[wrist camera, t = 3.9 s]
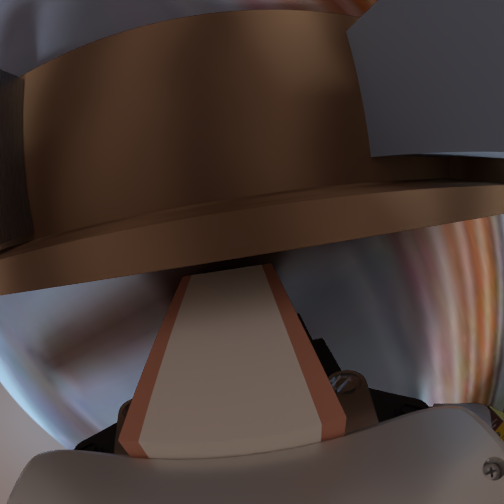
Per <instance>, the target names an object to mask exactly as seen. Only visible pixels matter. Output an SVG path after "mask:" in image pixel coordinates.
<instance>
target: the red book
mask: <svg viewBox="0 0 504 504" xmlns="http://www.w3.org/2000/svg"><path fill="white" fill-rule="evenodd" d="M346 418H347V417H346V415H345V413H344V411H343V409H342V406H341V404H340V402H339V400H338V398H337V396H336V394H335V392H334V390H333V388H332V386H331V383H330V381H329V379H328V377H327V375H326V373H325V371H324V369H323V367H322V365H321V363H320V361H319V359H318V357H317V355H316V352H315V350H314V348H313V346H312V344H311V342H310V340H309V338H308V336H307V334H306V332H305V330H304V328H303V326H302V324H301V322H300V320H299V318H298V316H297V314H296V312H295V310H294V308H293V306H292V304H291V302H290V300H289V298H288V295H287V293H286V291H285V289H284V287H283V285H282V283H281V281H280V279H279V277H278V275H277V273H276V271H275V269H274V267H273V265H272V263H269V264H262V265H256V266H249V267H243V268H236V269H229V270H223V271H216V272H210V273H203V274H196V275H189V276H183V277H182V279H181V281H180V283H179V285H178V288H177V290H176V292H175V295H174V297H173V299H172V301H171V304H170V306H169V308H168V311H167V313H166V315H165V318H164V320H163V323H162V325H161V327H160V330H159V332H158V335H157V337H156V339H155V342H154V344H153V347H152V349H151V352H150V354H149V357H148V359H147V362H146V364H145V367H144V370H143V372H142V375H141V377H140V380H139V383H138V385H137V388H136V391H135V393H134V396H133V399H132V402H131V404H130V407H129V410H128V413H127V415H126V418H125V421H124V424H123V427H122V430H121V433H120V436H119V439H118V441H119V442H120V444H121V445H122V446H123V448H124V449H125V450H126V452H127V453H128V454H129V456H130V457H142V458H151V459H205V458H222V457H234V456H244V455H252V454H260V453H267V452H273V451H279V450H285V449H290V448H295V447H300V446H305V445H310V444H314V443H319V442H321V441H324V440H328V439H332V438H336V437H339V436H343V435H344V433H345V426H346Z"/></svg>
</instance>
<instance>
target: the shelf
mask: <svg viewBox="0 0 504 504" xmlns="http://www.w3.org/2000/svg"><path fill="white" fill-rule="evenodd" d="M359 18H360V17H355V16H349V15H342V14H335V13H326V12H316V11H302V10H242V11H228V12H218V13H209V14H201V15H194V16H188V17H182V18H177V19H172V20H167V21H162V22H158V23H153V24H149V25H145V26H142V27H138V28H134V29H131V30H127V31H124V32H121V33H118V34H114V35H111V36H108V37H106V38H103V39H100V40H97V41H94V42H92V43H89V44H87V45H84V46H82V47H79V48H77V49H74V50H72V51H70V52H68V53H65V54H63V55H61V56H59V57H57V58H55V59H53V60H51V61H49V62H47V63H45V64H43V65H41V66H39V67H37V68H35V69H33V70H31V71H30V72H28V73H26V74H24V75H23V76H21V77H20V78H22V79H24V90H23V118H22V125H23V153H24V166H25V177H26V185H27V193H28V200H29V206H30V212H31V218H32V223H33V228H34V232H31V233H28V234H26V235H23V236H20V237H18V238H15V239H13V240H10V241H7V242H5V243H2V244H0V295H6V294H12V293H19V292H26V291H32V290H39V289H45V288H52V287H58V286H65V285H71V284H78V283H84V282H91V281H97V280H103V279H110V278H116V277H122V276H129V275H135V274H142V273H148V272H154V271H161V270H167V269H173V268H179V267H186V266H192V265H198V264H204V263H211V262H217V261H223V260H229V259H236V258H242V257H248V256H254V255H260V254H266V253H273V252H279V251H285V250H291V249H297V248H303V247H309V246H315V245H322V244H328V243H334V242H340V241H346V240H352V239H358V238H364V237H370V236H376V235H382V234H388V233H394V232H400V231H406V230H412V229H418V228H424V227H430V226H436V225H441V224H447V223H453V222H459V221H465V220H471V219H477V218H483V217H488V216H494V215H500V214H504V158H487V157H371V153H370V145H369V137H368V131H367V124H366V118H365V112H364V107H363V101H362V96H361V91H360V86H359V81H358V77H357V72H356V68H355V64H354V60H353V56H352V52H351V48H350V44H349V41H348V37H347V34H346V31H347V30H348V29H349V28H350V27H351V26H352V25H353V24H354V23H355V22H356V21H357V20H358V19H359Z"/></svg>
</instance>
